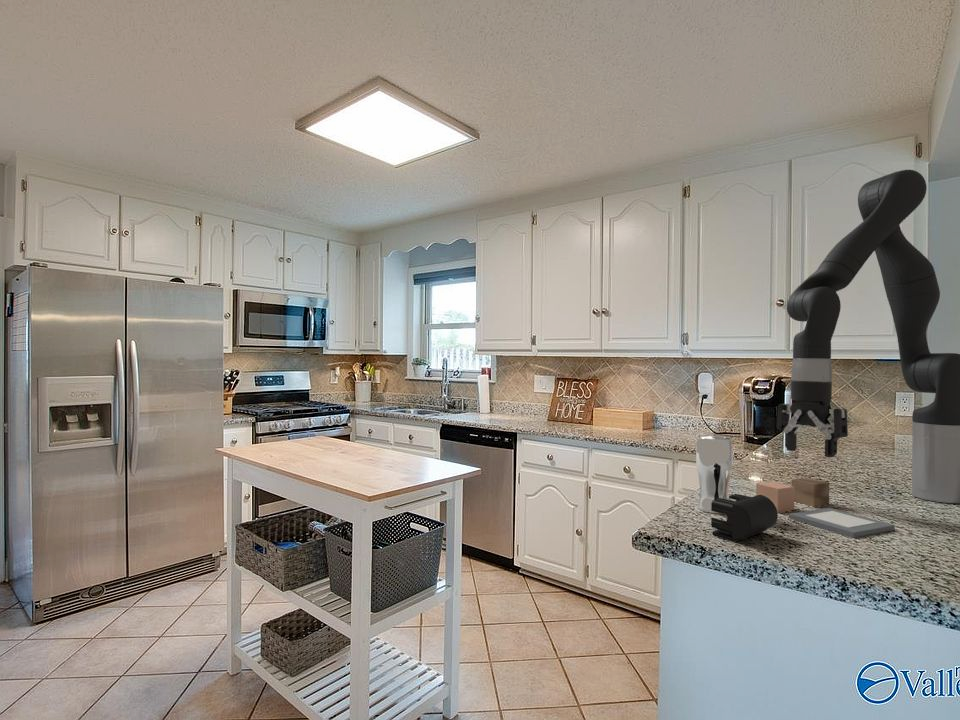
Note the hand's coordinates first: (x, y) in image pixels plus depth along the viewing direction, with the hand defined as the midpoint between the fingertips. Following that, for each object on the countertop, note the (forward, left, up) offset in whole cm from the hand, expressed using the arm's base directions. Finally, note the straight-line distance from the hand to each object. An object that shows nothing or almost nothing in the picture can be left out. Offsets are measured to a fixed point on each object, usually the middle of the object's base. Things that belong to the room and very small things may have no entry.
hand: (809, 453), depth 113 cm
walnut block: (0, 0, -11) cm, 11 cm away
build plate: (+9, +12, -11) cm, 18 cm away
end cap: (+32, +10, -11) cm, 35 cm away
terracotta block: (+11, 0, -11) cm, 15 cm away
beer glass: (+24, -4, -11) cm, 27 cm away
